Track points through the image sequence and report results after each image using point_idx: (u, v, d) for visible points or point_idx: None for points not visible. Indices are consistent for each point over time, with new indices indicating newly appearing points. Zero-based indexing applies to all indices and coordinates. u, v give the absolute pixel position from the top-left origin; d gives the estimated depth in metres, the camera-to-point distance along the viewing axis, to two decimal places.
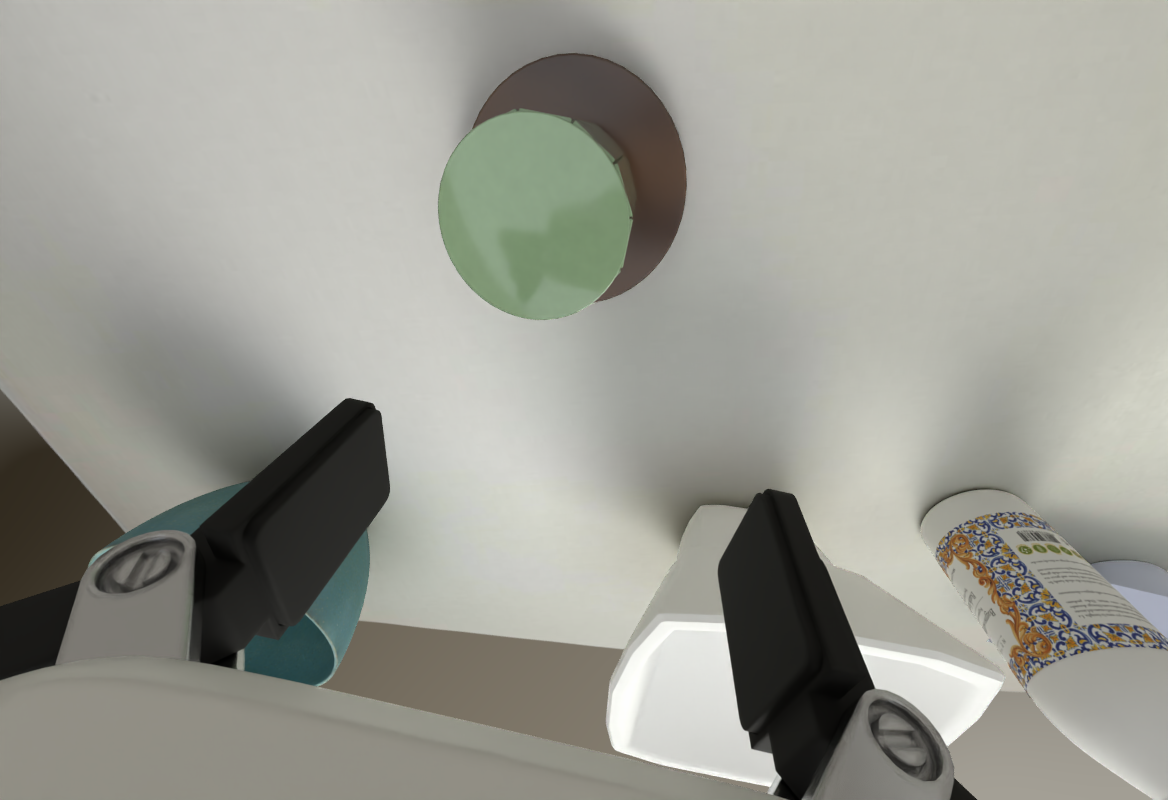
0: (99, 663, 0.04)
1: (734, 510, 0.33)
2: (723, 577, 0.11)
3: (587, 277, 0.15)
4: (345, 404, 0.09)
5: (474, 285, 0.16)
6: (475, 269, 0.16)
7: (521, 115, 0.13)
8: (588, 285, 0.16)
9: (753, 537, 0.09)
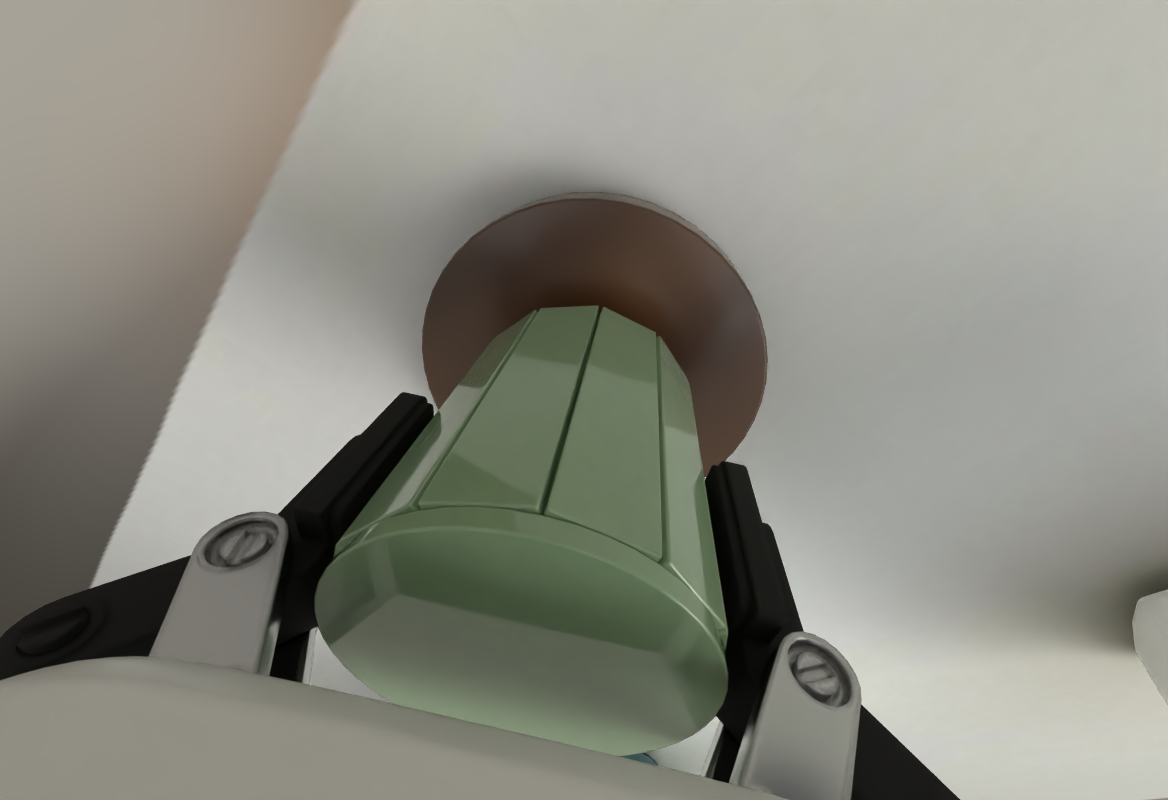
0: (99, 663, 0.04)
1: None
2: None
3: (671, 686, 0.07)
4: (402, 397, 0.10)
5: None
6: None
7: (338, 566, 0.06)
8: (686, 694, 0.07)
9: None
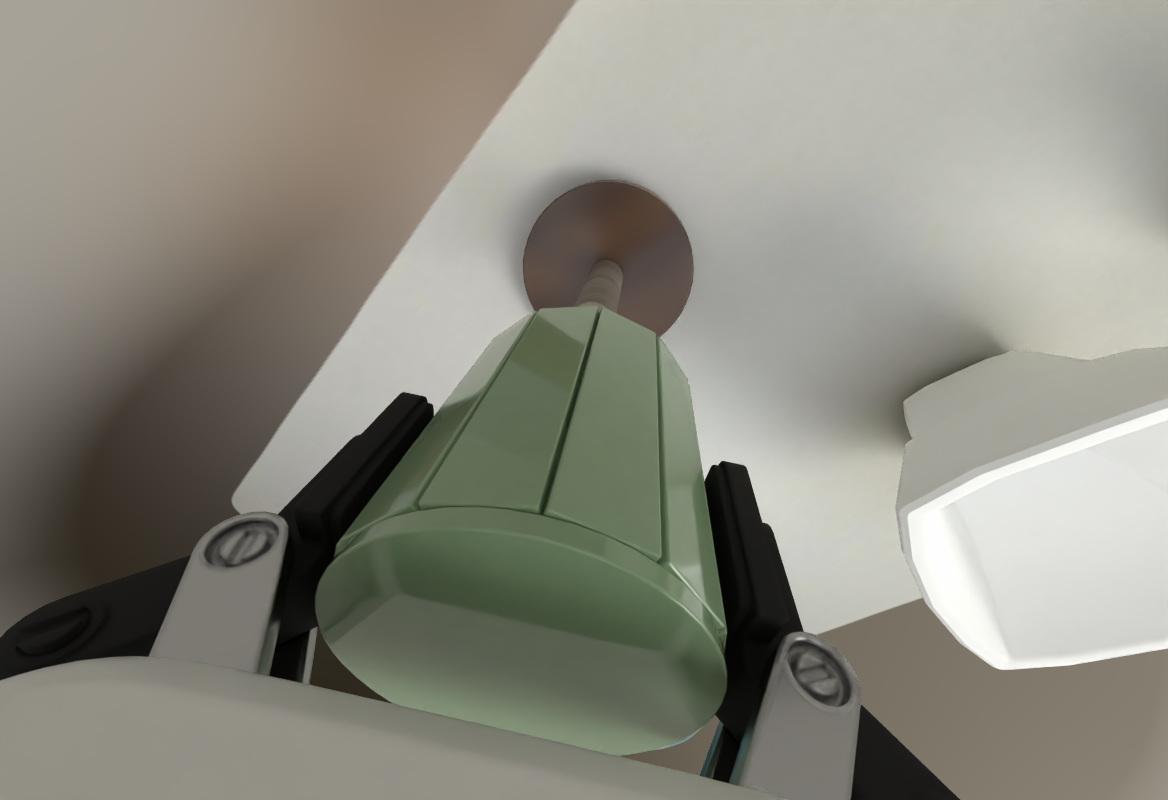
0: (99, 665, 0.04)
1: (940, 382, 0.31)
2: None
3: (671, 686, 0.07)
4: (402, 397, 0.10)
5: None
6: None
7: (339, 566, 0.06)
8: (685, 693, 0.07)
9: None
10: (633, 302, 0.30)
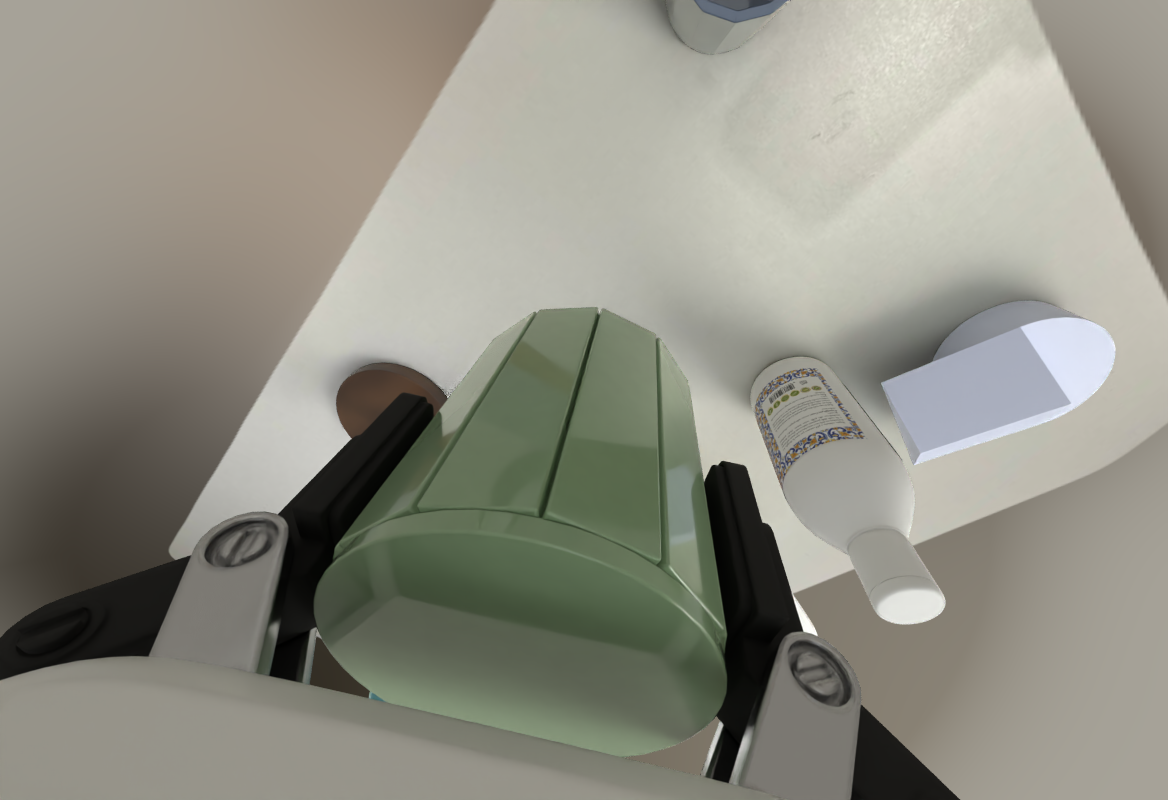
0: (99, 665, 0.04)
1: None
2: None
3: (670, 689, 0.07)
4: (402, 398, 0.10)
5: None
6: None
7: (338, 569, 0.06)
8: (685, 696, 0.07)
9: None
10: None
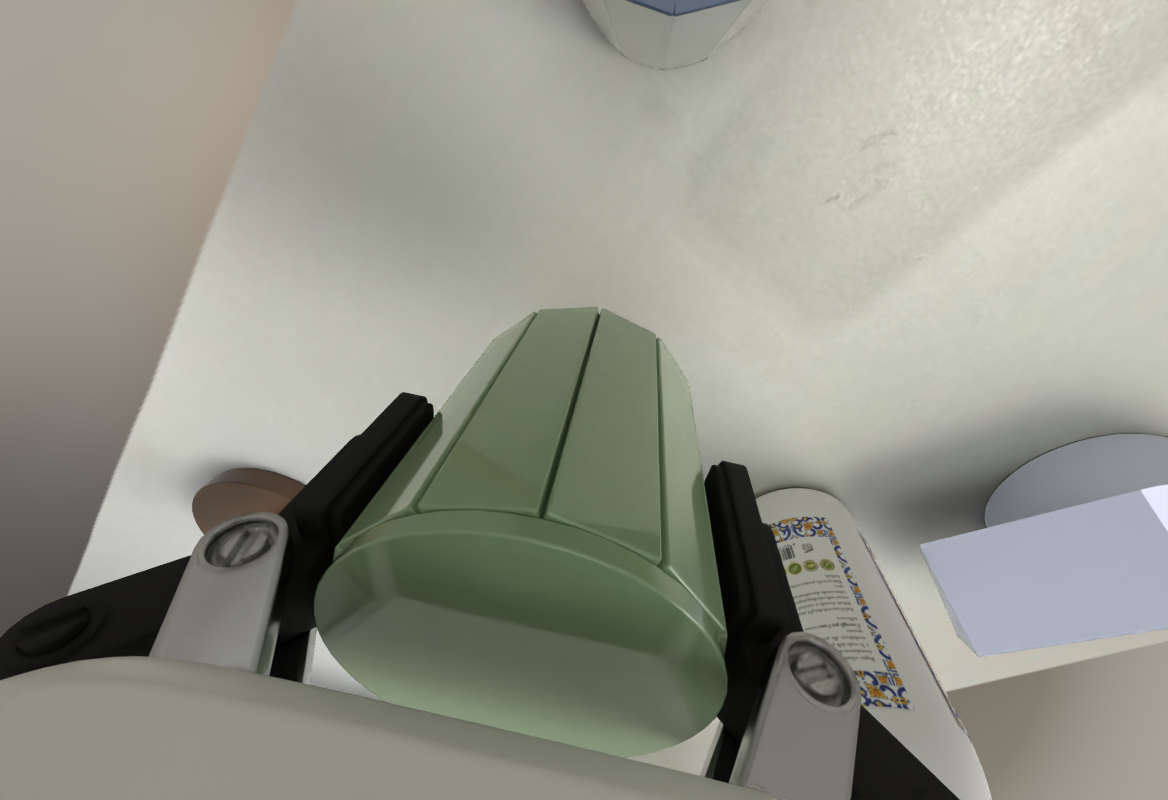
0: (99, 665, 0.04)
1: None
2: None
3: (671, 690, 0.07)
4: (402, 398, 0.10)
5: None
6: None
7: (338, 569, 0.06)
8: (686, 697, 0.07)
9: None
10: None
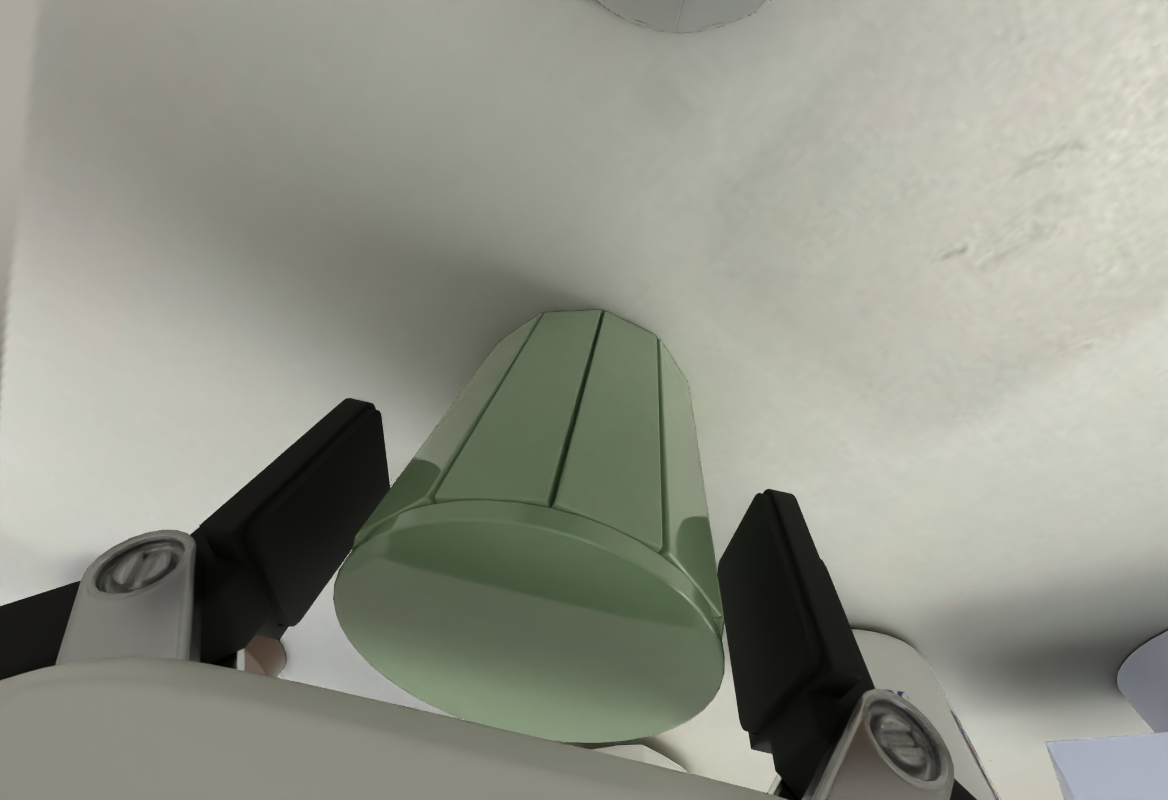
0: (99, 663, 0.04)
1: None
2: (723, 578, 0.11)
3: (671, 672, 0.07)
4: (345, 404, 0.09)
5: (524, 732, 0.09)
6: (506, 719, 0.09)
7: (359, 556, 0.06)
8: (685, 679, 0.07)
9: (753, 537, 0.09)
10: None
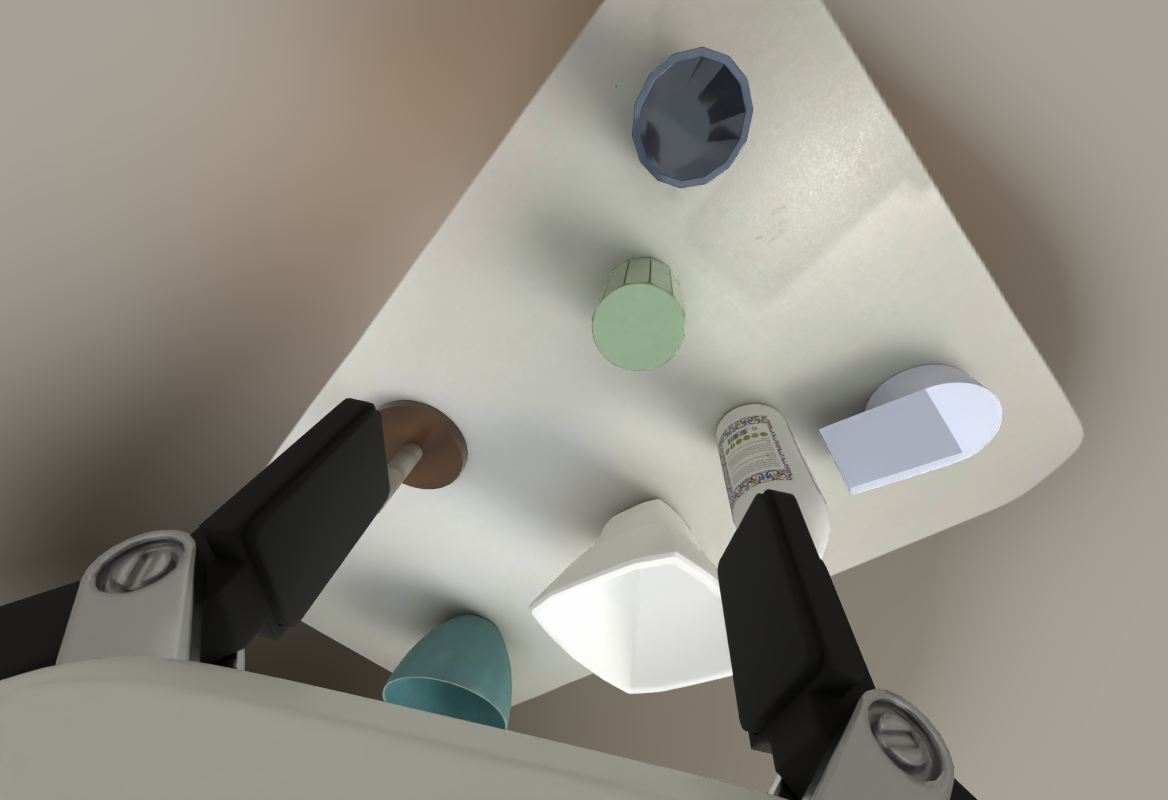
0: (99, 665, 0.04)
1: (620, 514, 0.50)
2: (723, 577, 0.11)
3: (673, 329, 0.31)
4: (345, 404, 0.09)
5: (632, 368, 0.33)
6: (628, 362, 0.33)
7: (606, 298, 0.30)
8: (676, 331, 0.31)
9: (753, 537, 0.09)
10: (432, 463, 0.50)
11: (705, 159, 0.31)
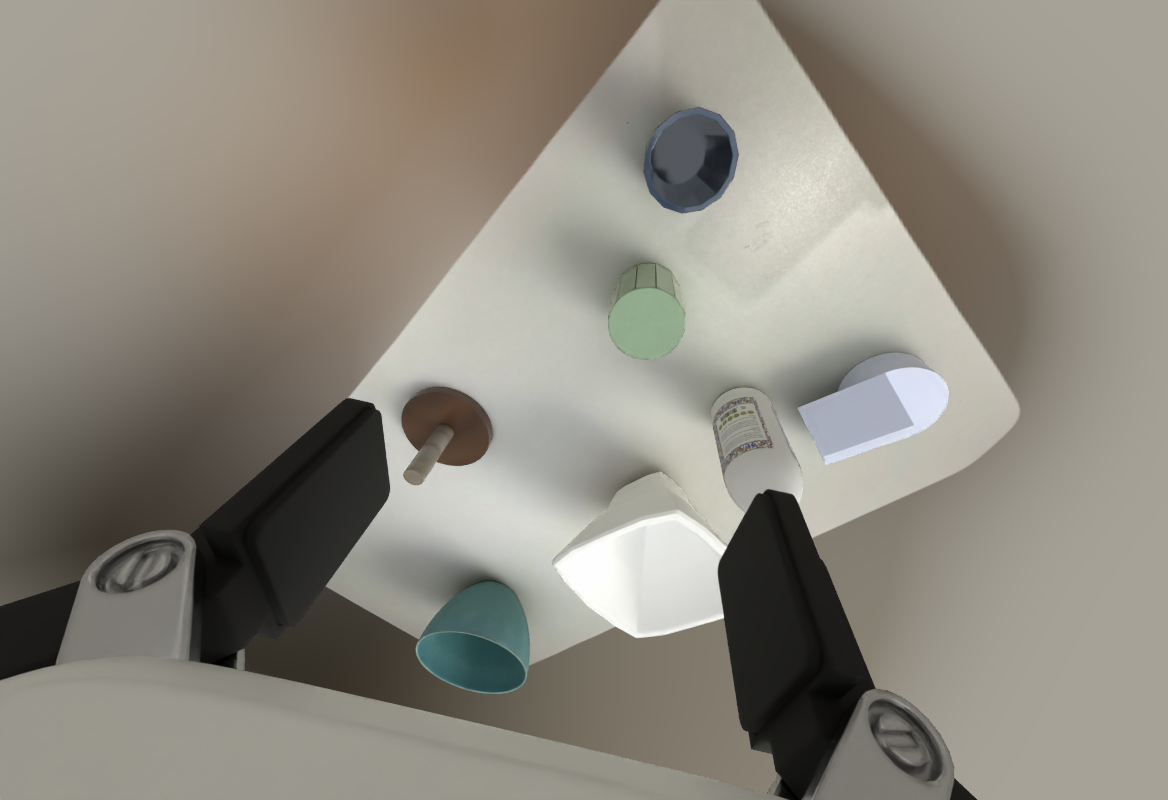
0: (99, 665, 0.04)
1: (627, 486, 0.57)
2: (723, 578, 0.11)
3: (675, 324, 0.37)
4: (345, 404, 0.09)
5: (641, 357, 0.40)
6: (638, 352, 0.39)
7: (620, 299, 0.37)
8: (678, 326, 0.37)
9: (753, 537, 0.09)
10: (461, 443, 0.57)
11: (701, 183, 0.38)
